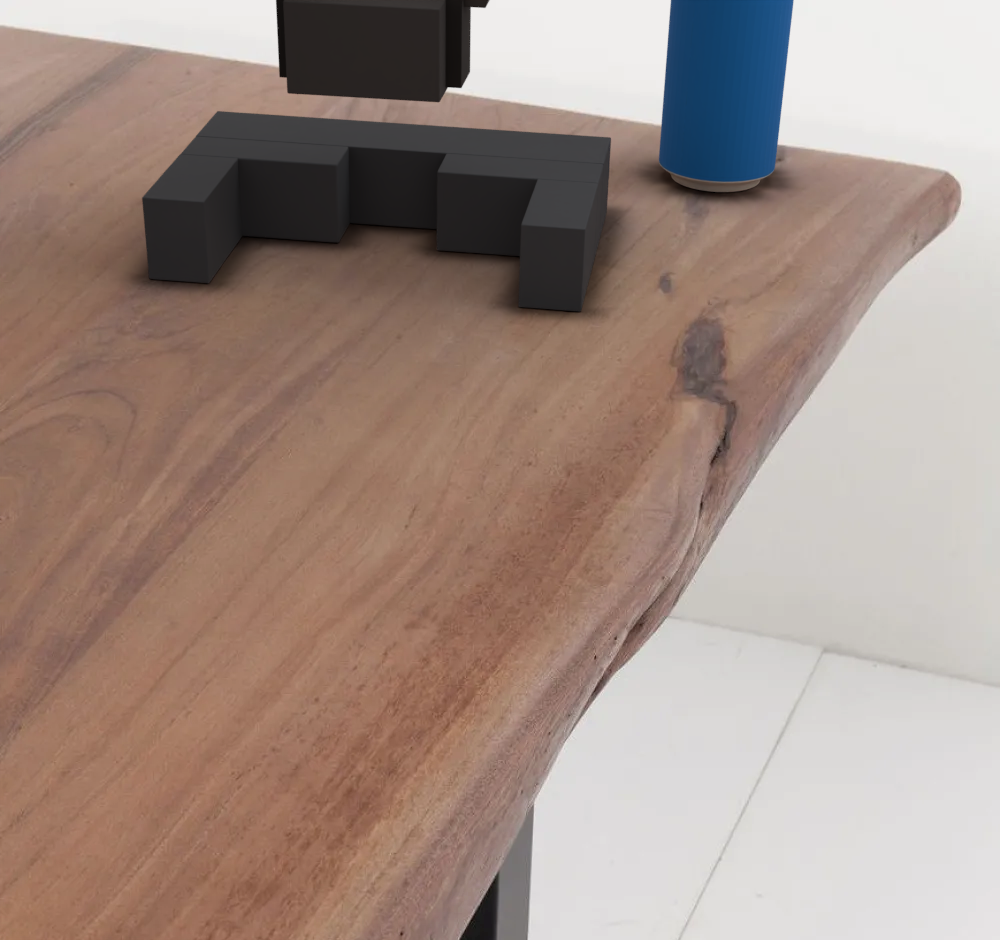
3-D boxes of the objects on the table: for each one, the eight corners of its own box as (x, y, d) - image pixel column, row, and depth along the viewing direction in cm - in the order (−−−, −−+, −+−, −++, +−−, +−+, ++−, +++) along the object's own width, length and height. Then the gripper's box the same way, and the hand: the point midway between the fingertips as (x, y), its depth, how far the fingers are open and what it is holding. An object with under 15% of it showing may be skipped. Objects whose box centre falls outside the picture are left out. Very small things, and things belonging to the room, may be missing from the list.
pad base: (148, 279, 91) (141, 197, 89) (221, 185, 102) (217, 110, 100) (581, 311, 89) (585, 229, 87) (606, 212, 100) (611, 137, 98)
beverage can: (746, 156, 109) (769, -67, 102) (791, 192, 104) (819, -39, 97) (641, 163, 107) (657, -63, 100) (681, 200, 102) (701, -34, 95)
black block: (287, 93, 85) (282, 0, 83) (324, 47, 92) (321, -40, 89) (439, 102, 84) (439, 9, 82) (466, 55, 91) (467, -33, 89)
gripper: (89, -533, 72) (142, 84, 85) (609, -518, 70) (581, 111, 83) (145, -536, 78) (187, 41, 91) (626, -522, 76) (597, 65, 89)
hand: (375, 73), depth 87 cm, fingers closed on black block, 7 cm apart
